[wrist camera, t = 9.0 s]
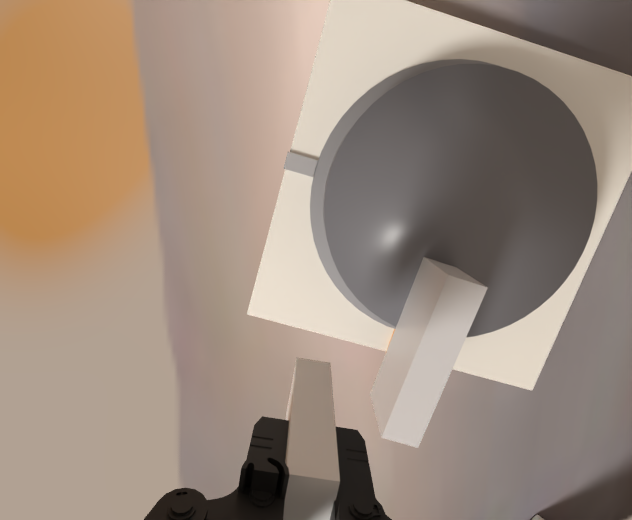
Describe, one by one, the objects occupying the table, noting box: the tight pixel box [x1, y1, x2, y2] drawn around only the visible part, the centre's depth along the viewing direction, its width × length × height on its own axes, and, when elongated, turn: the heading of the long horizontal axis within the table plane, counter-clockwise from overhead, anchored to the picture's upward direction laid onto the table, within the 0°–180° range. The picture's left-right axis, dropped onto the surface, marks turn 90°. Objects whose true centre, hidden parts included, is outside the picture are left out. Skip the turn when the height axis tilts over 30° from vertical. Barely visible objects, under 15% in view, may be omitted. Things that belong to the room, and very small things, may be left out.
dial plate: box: [247, 0, 632, 390], centre depth 24 cm, size 20×20×2 cm
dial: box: [323, 64, 597, 448], centre depth 21 cm, size 20×15×6 cm
